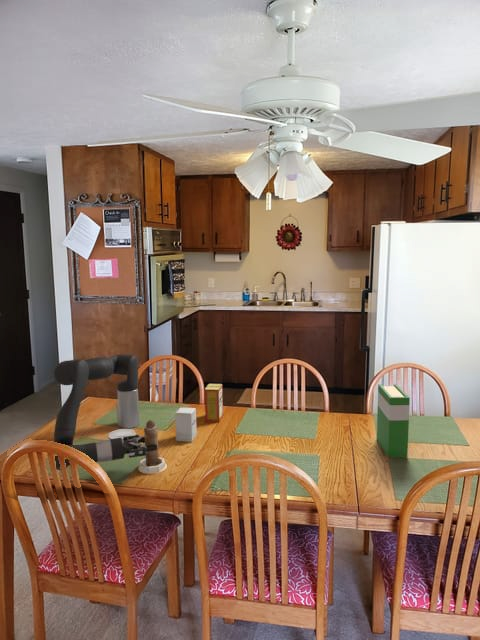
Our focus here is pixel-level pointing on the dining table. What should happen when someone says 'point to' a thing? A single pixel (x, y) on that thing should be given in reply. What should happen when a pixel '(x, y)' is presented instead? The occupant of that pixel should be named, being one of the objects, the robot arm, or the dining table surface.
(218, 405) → the baking soda box
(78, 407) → the robot arm
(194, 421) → the supplement box
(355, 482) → the dining table surface
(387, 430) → the hardback book
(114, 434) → the ramekin
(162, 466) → the ring coaster
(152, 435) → the pepper mill
